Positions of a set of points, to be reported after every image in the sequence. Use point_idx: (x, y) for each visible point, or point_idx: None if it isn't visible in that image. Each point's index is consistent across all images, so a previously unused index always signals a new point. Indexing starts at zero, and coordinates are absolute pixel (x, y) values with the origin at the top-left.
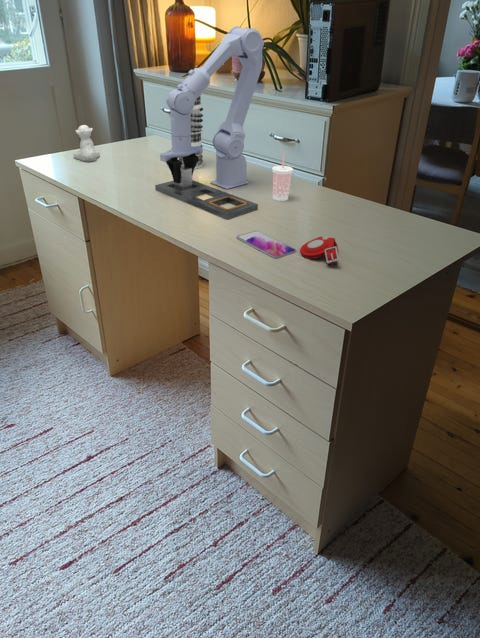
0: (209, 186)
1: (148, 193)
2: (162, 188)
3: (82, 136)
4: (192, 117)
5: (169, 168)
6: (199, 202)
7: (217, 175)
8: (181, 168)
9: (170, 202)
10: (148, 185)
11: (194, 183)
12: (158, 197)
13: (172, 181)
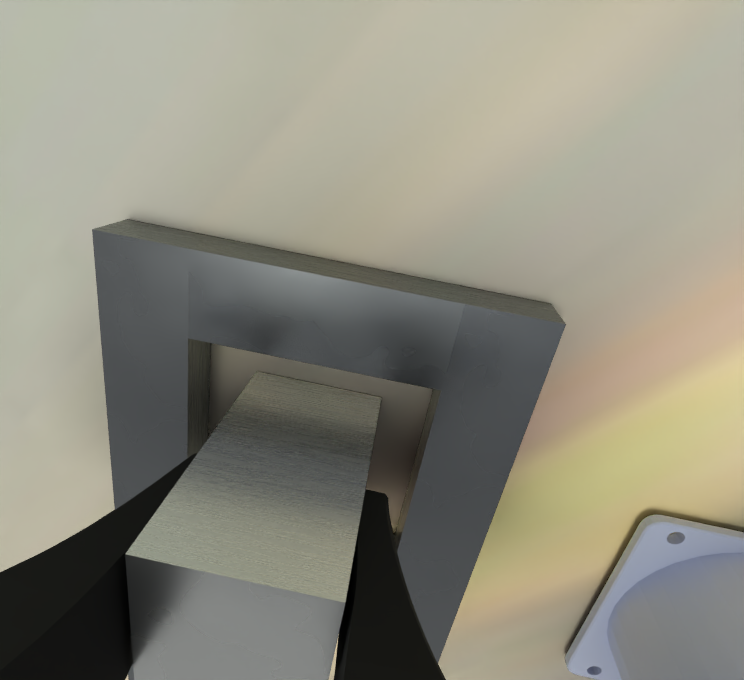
0: (449, 625)
1: (17, 235)
2: (104, 355)
3: None
4: None
5: (36, 556)
6: None
7: (666, 668)
8: (207, 647)
9: (61, 502)
10: (159, 16)
11: (435, 505)
12: (42, 376)
13: (334, 298)
